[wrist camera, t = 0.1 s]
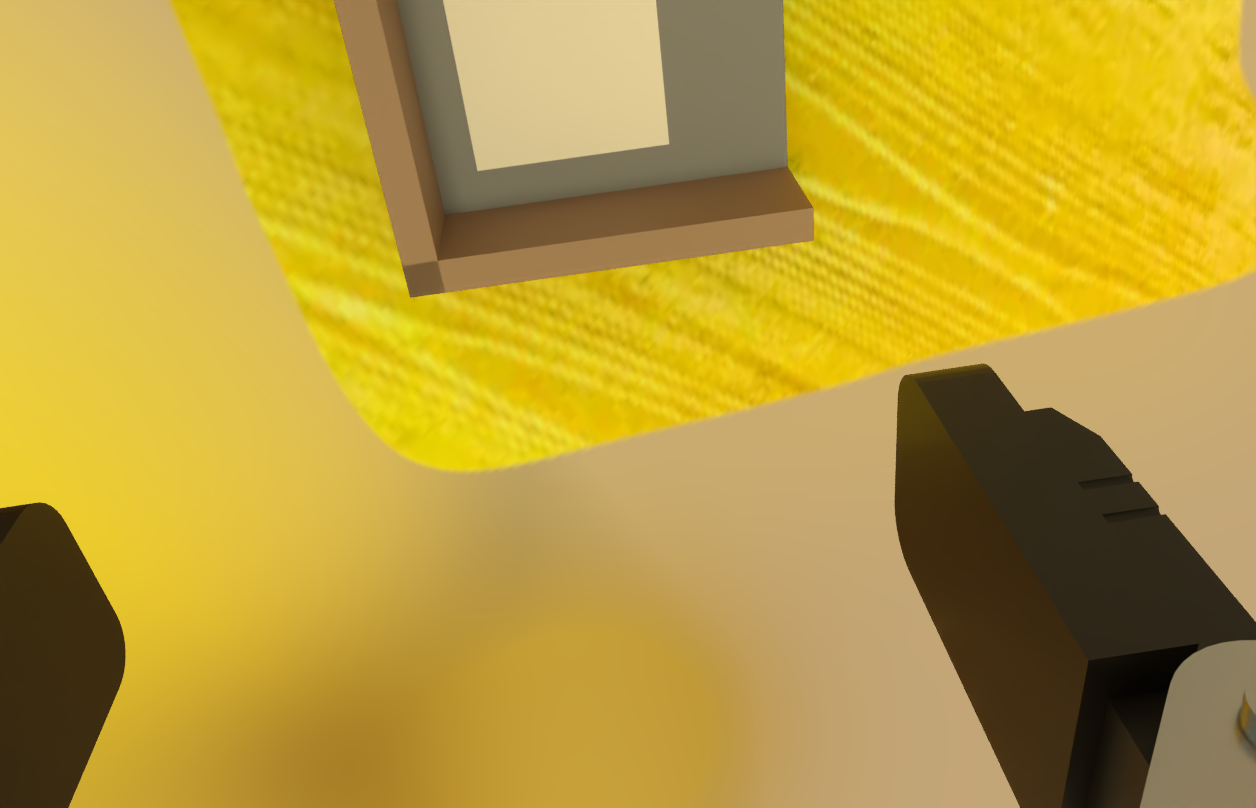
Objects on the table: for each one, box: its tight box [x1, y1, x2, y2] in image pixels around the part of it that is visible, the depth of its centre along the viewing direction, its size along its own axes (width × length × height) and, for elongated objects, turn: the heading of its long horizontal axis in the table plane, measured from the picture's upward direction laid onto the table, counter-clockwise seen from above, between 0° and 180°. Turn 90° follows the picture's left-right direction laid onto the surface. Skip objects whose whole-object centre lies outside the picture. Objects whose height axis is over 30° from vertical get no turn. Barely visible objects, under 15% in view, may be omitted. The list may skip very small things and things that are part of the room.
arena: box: [334, 0, 814, 297], centre depth 33 cm, size 14×14×5 cm
